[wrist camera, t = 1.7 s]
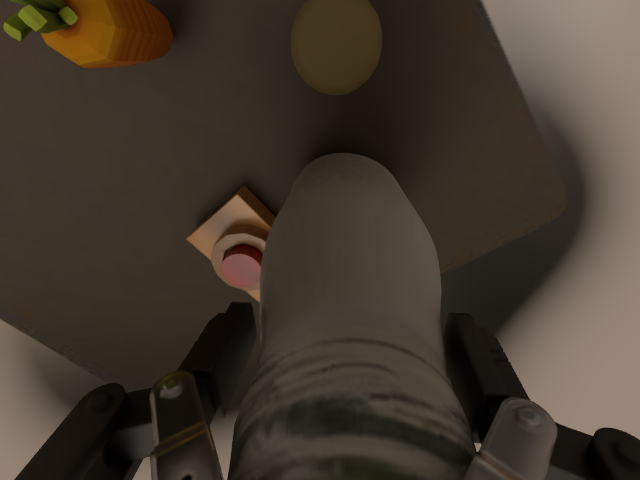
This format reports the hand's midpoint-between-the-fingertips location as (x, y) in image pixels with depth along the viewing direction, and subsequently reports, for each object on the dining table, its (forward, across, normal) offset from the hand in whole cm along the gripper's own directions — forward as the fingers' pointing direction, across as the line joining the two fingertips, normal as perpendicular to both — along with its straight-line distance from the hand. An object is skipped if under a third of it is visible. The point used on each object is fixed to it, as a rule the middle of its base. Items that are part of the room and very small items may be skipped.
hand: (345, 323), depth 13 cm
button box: (+20, +11, +7) cm, 24 cm away
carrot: (+19, +16, -13) cm, 28 cm away
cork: (+20, +2, -11) cm, 23 cm away
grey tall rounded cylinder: (+21, +1, +1) cm, 21 cm away
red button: (+16, +11, +7) cm, 21 cm away
